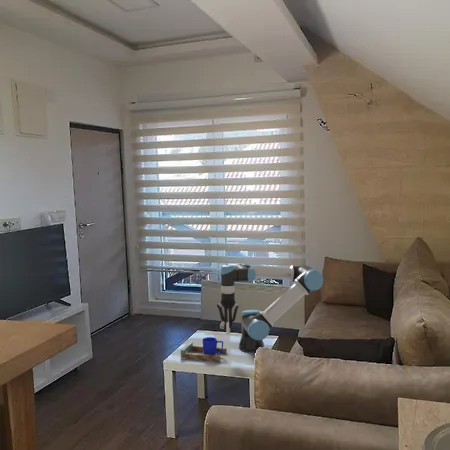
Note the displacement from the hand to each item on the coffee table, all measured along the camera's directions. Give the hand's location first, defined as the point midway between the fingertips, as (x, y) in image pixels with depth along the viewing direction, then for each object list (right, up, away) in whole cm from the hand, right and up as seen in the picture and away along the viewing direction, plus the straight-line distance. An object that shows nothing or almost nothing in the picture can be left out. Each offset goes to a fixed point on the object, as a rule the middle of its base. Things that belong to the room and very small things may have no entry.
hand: (228, 333), depth 268 cm
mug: (-9, -14, +4) cm, 17 cm away
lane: (-14, -14, +5) cm, 20 cm away
